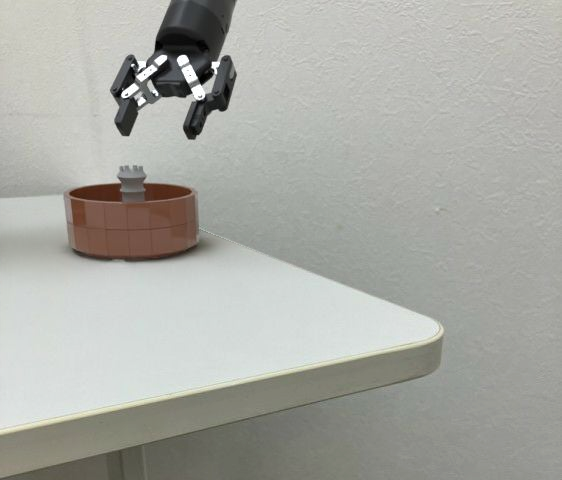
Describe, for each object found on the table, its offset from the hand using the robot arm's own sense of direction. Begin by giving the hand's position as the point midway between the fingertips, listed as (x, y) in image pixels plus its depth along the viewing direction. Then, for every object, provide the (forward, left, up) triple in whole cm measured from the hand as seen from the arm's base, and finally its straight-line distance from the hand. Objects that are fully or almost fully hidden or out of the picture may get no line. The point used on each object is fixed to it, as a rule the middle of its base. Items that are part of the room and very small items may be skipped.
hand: (154, 133), depth 75 cm
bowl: (0, -6, -12) cm, 13 cm away
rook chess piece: (0, -5, -11) cm, 12 cm away
